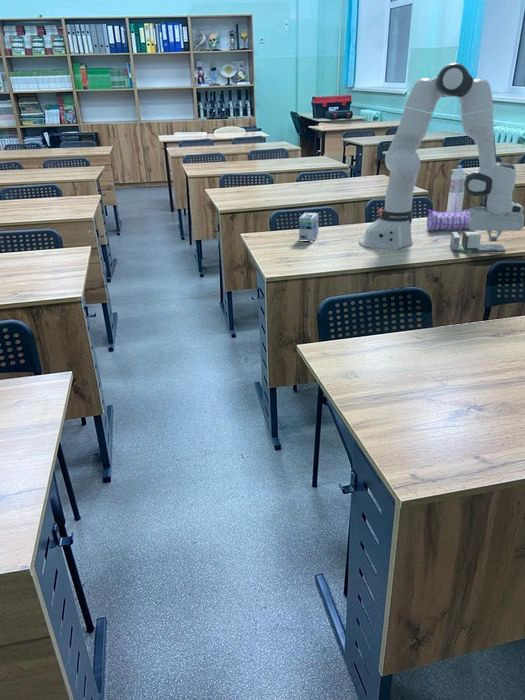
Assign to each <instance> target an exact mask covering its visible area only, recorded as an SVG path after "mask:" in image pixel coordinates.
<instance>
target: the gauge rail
mask: <svg viewBox="0 0 525 700" xmlns="http://www.w3.org/2000/svg"><path fill="white" fill-rule="evenodd" d="M460 241H461V236H460V234H459V233H458V232H457V231H451V236H450V244H449V248H450V250H451V252H452V253H459V252H460V253H461V252H462V253H461V254H464V253H463V252H505V253H506V249H505V247H504V246H503V244H495V243H494V244H492V243H491V244H490V243H489V244H487V243H485V244H483V243H480V246H479V248H467V249H465V248H464V246H463V245H462V243H460ZM460 253H459V254H460Z"/></svg>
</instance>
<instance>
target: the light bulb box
mask: <svg viewBox="0 0 525 700" xmlns="http://www.w3.org/2000/svg"><path fill="white" fill-rule="evenodd" d="M319 217H320V215H319V213H318V212H304V213H303V214H301V216H300V217H299V218H298V239H299V240H308V241H313V240H314V239H315V238H316V237H317V235H318V236H319V225H320V224H319V221H320V220H319ZM317 238H318V237H317ZM299 240H298V241H299Z"/></svg>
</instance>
